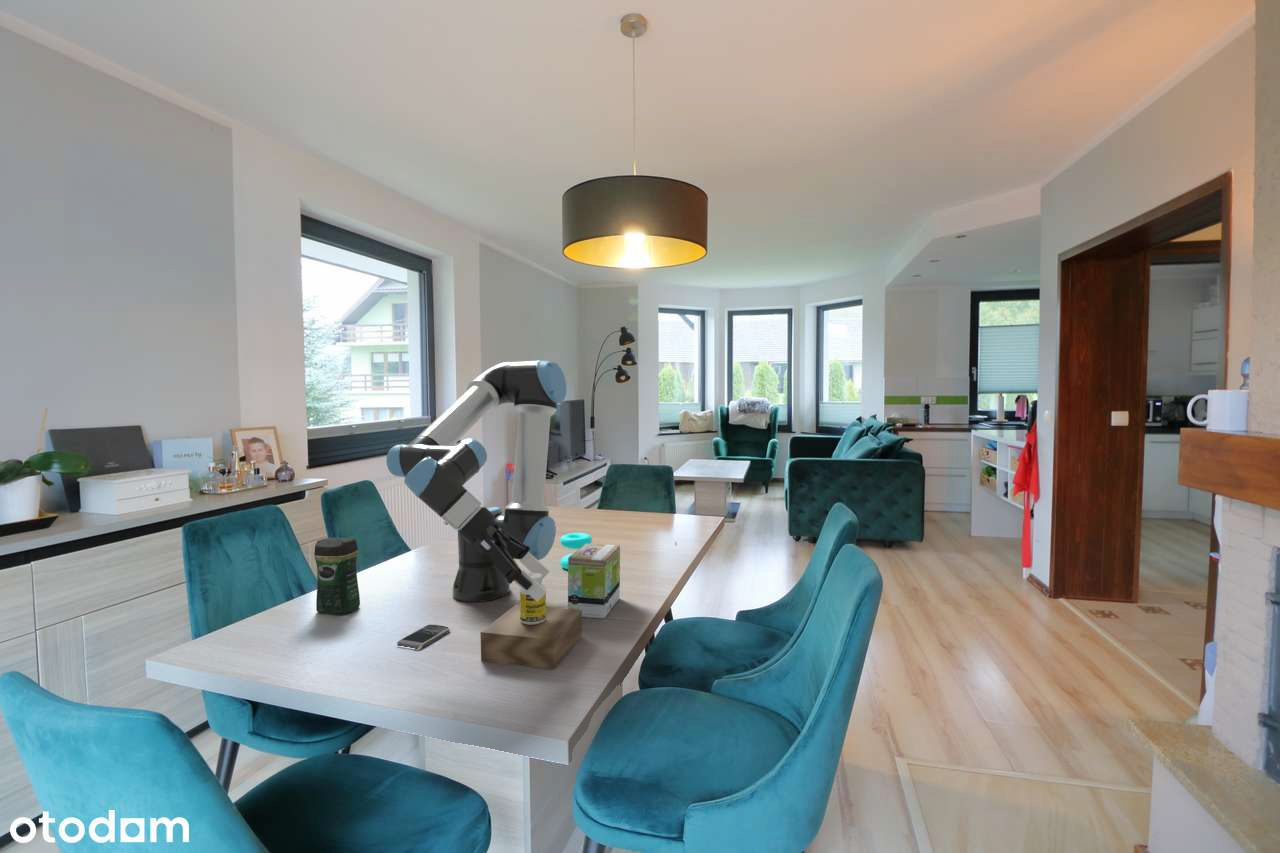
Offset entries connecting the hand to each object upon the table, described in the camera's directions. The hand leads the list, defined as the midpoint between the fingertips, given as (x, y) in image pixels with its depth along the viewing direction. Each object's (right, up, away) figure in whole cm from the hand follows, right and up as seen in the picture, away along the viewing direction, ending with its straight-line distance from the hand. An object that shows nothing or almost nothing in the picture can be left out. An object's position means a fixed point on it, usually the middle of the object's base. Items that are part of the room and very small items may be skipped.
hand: (543, 585), depth 122 cm
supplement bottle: (-2, -8, 0) cm, 8 cm away
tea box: (+9, -12, +24) cm, 29 cm away
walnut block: (-2, -13, 0) cm, 14 cm away
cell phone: (-28, -14, +6) cm, 32 cm away
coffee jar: (-56, -13, +23) cm, 62 cm away
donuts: (0, -11, +60) cm, 61 cm away
